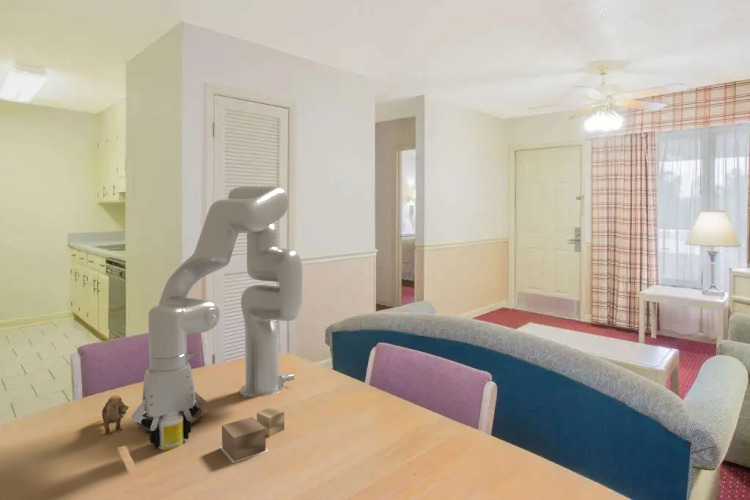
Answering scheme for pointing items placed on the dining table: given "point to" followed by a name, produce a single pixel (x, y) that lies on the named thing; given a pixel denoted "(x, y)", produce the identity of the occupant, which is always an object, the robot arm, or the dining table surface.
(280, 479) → the dining table surface
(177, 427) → the supplement bottle
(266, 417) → the oak cube
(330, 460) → the dining table surface
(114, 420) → the lion figurine
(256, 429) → the walnut block
